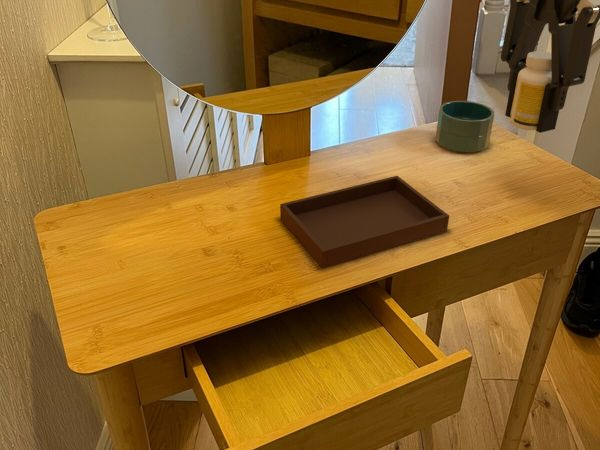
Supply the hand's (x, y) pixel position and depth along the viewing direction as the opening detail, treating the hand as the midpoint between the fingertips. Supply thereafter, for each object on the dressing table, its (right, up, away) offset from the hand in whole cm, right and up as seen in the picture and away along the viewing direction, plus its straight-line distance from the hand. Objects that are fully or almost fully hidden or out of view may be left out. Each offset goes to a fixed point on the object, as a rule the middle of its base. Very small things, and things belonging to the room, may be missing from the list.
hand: (529, 121), depth 88 cm
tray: (-24, -15, -2) cm, 28 cm away
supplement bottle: (0, -1, 0) cm, 1 cm away
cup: (-4, 0, +21) cm, 21 cm away
